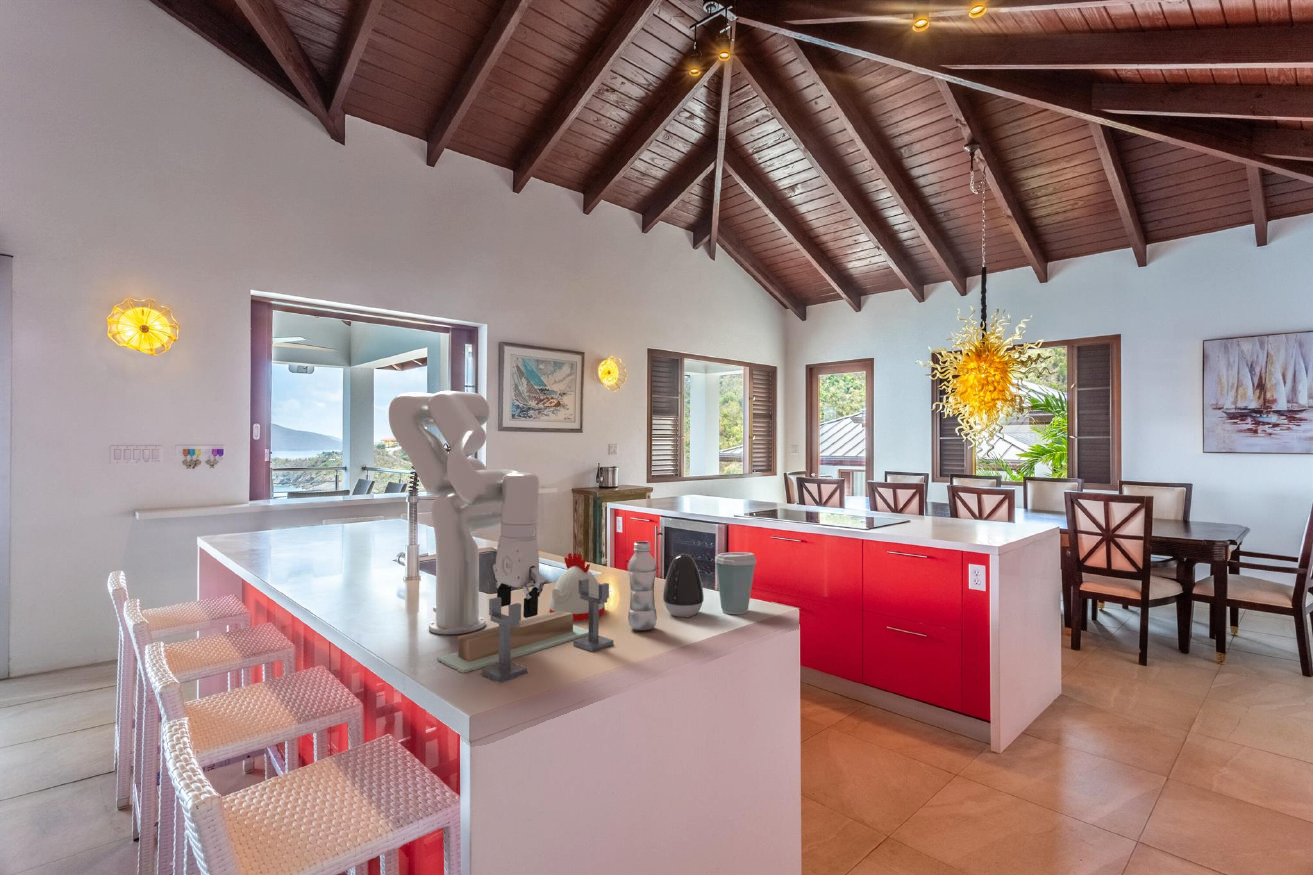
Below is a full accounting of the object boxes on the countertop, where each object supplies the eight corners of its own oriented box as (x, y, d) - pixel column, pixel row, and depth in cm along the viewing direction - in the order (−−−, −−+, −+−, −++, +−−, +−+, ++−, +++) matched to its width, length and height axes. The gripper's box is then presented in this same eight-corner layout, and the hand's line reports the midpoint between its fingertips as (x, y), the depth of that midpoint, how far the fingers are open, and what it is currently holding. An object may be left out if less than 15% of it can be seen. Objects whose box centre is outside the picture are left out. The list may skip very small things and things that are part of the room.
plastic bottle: (653, 634, 137) (653, 545, 137) (624, 632, 138) (624, 544, 138) (659, 626, 143) (659, 540, 143) (631, 624, 144) (631, 539, 145)
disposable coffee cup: (705, 611, 155) (705, 552, 156) (730, 603, 163) (730, 547, 163) (740, 619, 148) (740, 558, 148) (764, 610, 156) (764, 552, 156)
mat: (437, 660, 121) (437, 657, 121) (564, 624, 144) (564, 622, 144) (463, 673, 114) (463, 670, 114) (592, 633, 137) (592, 631, 137)
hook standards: (479, 673, 114) (479, 601, 114) (592, 638, 134) (592, 576, 134) (501, 684, 109) (502, 608, 109) (615, 645, 129) (615, 581, 129)
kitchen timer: (576, 602, 164) (576, 547, 165) (615, 610, 156) (615, 552, 157) (538, 614, 153) (538, 554, 153) (578, 623, 145) (578, 560, 145)
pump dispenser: (711, 612, 155) (711, 552, 155) (691, 622, 146) (691, 559, 146) (676, 606, 160) (676, 548, 160) (655, 616, 151) (655, 554, 152)
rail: (458, 656, 121) (458, 636, 121) (561, 627, 140) (561, 610, 140) (468, 661, 118) (469, 641, 118) (573, 631, 137) (573, 613, 137)
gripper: (481, 527, 132) (479, 605, 133) (528, 539, 121) (526, 624, 121) (510, 523, 138) (508, 598, 138) (558, 534, 126) (556, 617, 127)
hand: (516, 610), depth 130 cm, fingers open, 9 cm apart
